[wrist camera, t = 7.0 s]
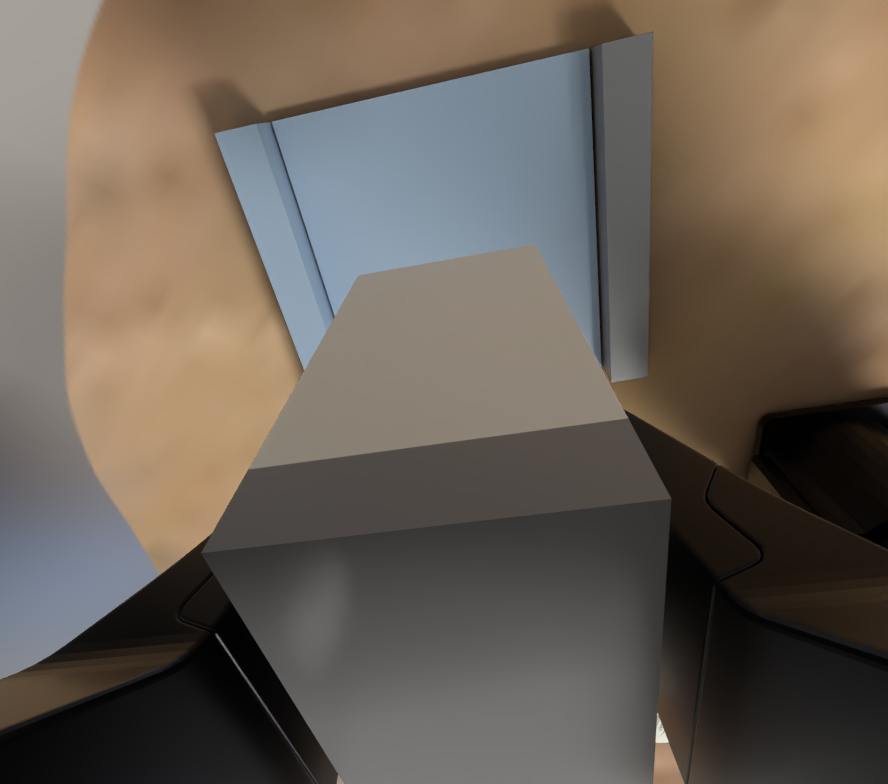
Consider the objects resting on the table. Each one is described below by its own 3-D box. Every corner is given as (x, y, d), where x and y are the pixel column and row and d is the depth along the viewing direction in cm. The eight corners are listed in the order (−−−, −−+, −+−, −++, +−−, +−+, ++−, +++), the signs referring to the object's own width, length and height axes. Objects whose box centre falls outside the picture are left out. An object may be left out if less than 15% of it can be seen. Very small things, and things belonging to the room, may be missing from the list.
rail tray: (1082, -66, 15) (1143, -83, 13) (953, 312, 20) (986, 326, 19) (231, 131, 18) (214, 133, 17) (332, 407, 24) (325, 425, 22)
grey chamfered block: (534, 243, 9) (671, 499, 3) (553, 450, 12) (651, 808, 6) (358, 275, 10) (200, 553, 4) (411, 468, 12) (367, 822, 6)
